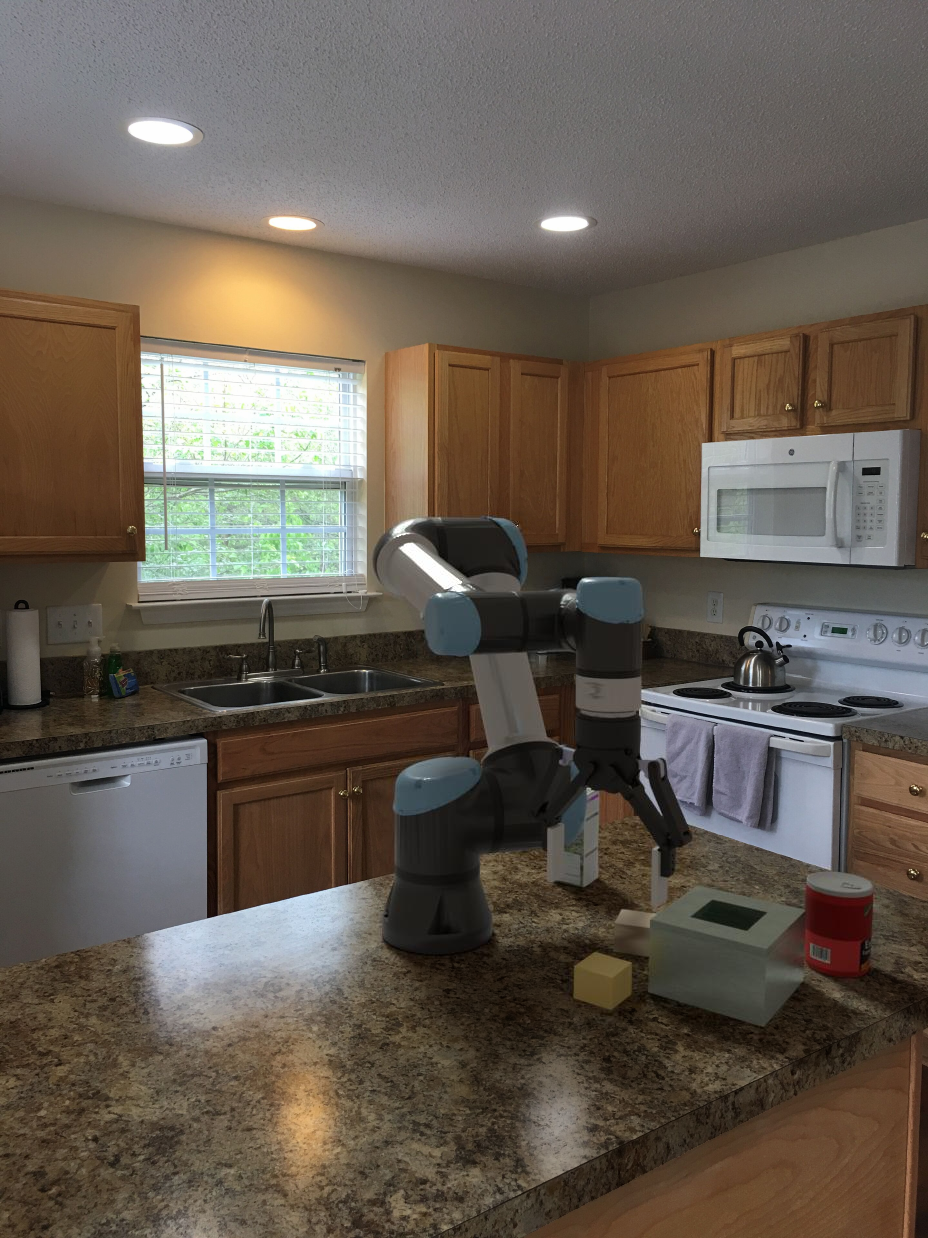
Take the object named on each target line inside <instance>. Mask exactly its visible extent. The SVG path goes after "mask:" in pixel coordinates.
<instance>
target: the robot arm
mask: <svg viewBox="0 0 928 1238" xmlns="http://www.w3.org/2000/svg"><path fill="white" fill-rule="evenodd" d="M372 554H373V555H372V568H373V572H374V574H375V576H376V579H377V580H378V581H379V582H380V584H381V585H382V586H383V587H384V588H385V589H386V590H387V591H388V592H390V593H392V594H394V595H396V596H400V597H404V598H405V599H406V600H407V601H408V602H410V603H411V605H412V606H413V607H415V608H416V610H418V611H419V613H421V614H422V615H423V616H424V618H423V619H424V620H423V621H424V623H423V625H424V636H425V639H426V640H427V646H428V648H429V649H430V651H431V652H432V653H434V654H435V655H438V656H439V655H440V656H445V655H446V656H456V657H466V656H469V660H470V665H471V666H470V667H471V670H472V675H473V680H474V685H475V689H476V690H475V691H476V694H477V699H478V700H477V701H478V704H479V709H480V713H481V718H482V722H483V727H484V728H483V729H484V733H485V737H486V743H487V747H488V750H487V752H486V753H485V755H484V756H483V757H482V759H481V762H479V761H478V760H476V759H475V758H473V757H466V756H456V757H452V756H443V757H437V758H430V759H427V760H424V761H420V762H417V763H414V764H411V765H409V766H408V767H406V768H405V769H404V770H402V771H401V772H400V773H399V774H398V776H397V778H396V780H395V787H394V799H393V803H392V810H393V812H394V813H393V814H394V815H393V816H394V821H393V822H394V825H393V827H394V878H393V881H392V884H391V887H390V891H389V893H388V897H387V899H386V902H385V907H384V910H383V912H382V915H381V917H382V918H381V935H382V937H383V939H384V940H385V942H387V943H388V944H389V945H391V946H393V947H394V948H398V949H400V950H402V951H406V952H410V953H415V954H422V955H450V954H452V955H453V954H457V953H458V954H459V953H463V952H467V951H472V950H474V949H476V948H479V947H481V946H482V945H484V944H485V943H487V942H488V941H489V940H490V939H491V938H492V935H493V928H494V927H493V925H494V924H493V922H494V920H493V914H492V911H491V909H490V907H489V904H488V899H487V895H486V892H485V889H484V886H483V882H482V879H481V856H482V855H490V854H491V855H492V854H498V853H499V854H501V853H510V852H521V851H530V850H540V849H541V850H542V851H543V852H546V854H547V855H546V857H547V858H546V865H547V866H546V882H550V883H554V882H556V880H558V879H559V878H561V877H563V876H564V845H567V844H569V843H571V842H573V841H574V840H575V839H576V838H577V837H578V835H579V834H580V832H581V829H582V827H583V824H584V820H585V815H586V809H587V788H591V790H594V791H599V792H600V791H603V792H606V793H607V794H611V795H616V794H619V793H620V796H621V797H622V798H623V799H624V800H625V801H627V802H628V803H629V805H630V807H632V809H633V812H635V814H636V816H637V817H638V818H639V820H640V821H641V823H642V824H643V826H644V827H645V829H646V830H647V831H648V833H649V835H650V836H651V837H652V839H653V840H654V841H655V843H656V844H657V846H655V847H654V848H652V849H651V879H650V880H651V883H650V884H651V885H650V886H651V887H650V889H651V890H650V891H651V892H650V894H651V895H650V906H651V907H654V908H658V907H660V906H661V905H662V904H664V903H665V902H667V901H668V889H669V888H668V886H669V885H668V882H669V878H670V877H672V876H673V875H674V874H675V873H676V853H677V848H679V849H680V848H683V847H685V846H686V845H688V844H689V843H691V842H692V841H693V835H692V832H691V830H690V827H689V825H688V823H687V820H686V818H685V815H684V813H683V810H682V807H681V806H680V803H679V801H678V799H677V797H676V794H675V791H674V789H673V786H672V784H671V782H670V780H669V778H668V777H669V776H668V767H667V760H666V759H665V758H663V757H658V758H655V759H642V757H641V753H640V749H641V741H642V740H641V738H642V737H641V734H642V733H641V732H642V717H641V715H640V714H639V713H638V711H640V710H641V708H642V667H643V666H642V665H643V664H642V663H643V637H644V636H643V634H644V633H643V632H644V631H643V630H644V616H645V610H644V605H643V587H642V584H641V582H640V581H639V580H637V579H635V578H632V577H617V576H616V577H613V576H610V577H609V576H595V577H594V576H593V577H583V578H581V580H579V582H578V584H577V586H576V589H574V588H569V587H568V588H553V589H549V590H527V591H526V590H523V591H521V588H522V586H523V585H524V583H525V582H526V579H527V575H528V571H529V570H528V567H529V564H528V561H527V558H528V552H527V546H526V543H525V540H524V537H523V535H522V533H521V531H520V530H519V528H518V527H517V525H516V524H515V523H513V522H512V521H511V520H508V519H506V518H503V517H501V518H499V517H491V516H487V515H486V516H480V517H447V516H446V517H445V516H444V517H442V516H441V517H439V516H436V517H435V516H434V517H433V516H418V517H412V518H409V519H405V520H403V521H400V522H398V523H396V524H394V525H393V526H391V527H389V528H388V529H387V530H386V531H385V532H384V533H383V534H382V535H381V537H380V538H379V539H378V540H377V542H376V544H375V547H374V548H373V553H372ZM547 652H548V653H549V652H553V653H554V652H572V653H574V654H575V663H576V664H575V707H576V708H577V709H578V710H579V711H578V712H576V714H575V717H574V719H575V722H574V741H575V744H576V746H575V749H574V748H571V747H570V745H569V744H567V743H563V744H561V745H560V744H559V742H557V741H555V740H553V739H551V738H550V737H548V736H547V733H546V732H547V731H546V726H545V724H544V719H543V716H542V715H543V714H542V711H541V707H540V703H539V698H538V695H537V694H538V693H537V691H536V686H535V682H534V679H533V678H534V677H533V674H532V669H531V665H530V662H529V657H528V653H547ZM480 763H481V764H480ZM641 772H643V774H644V778H646V779H647V780H648V782H649V786H650V789H651V791H652V794H653V796H654V798H655V801H656V804H657V806H658V808H659V809H658V808H657V807H656V805H655V803H654V802H653V801H652V799H651V798H650V797H649V795H648V794H647V792H646V787H645V786H644V784H643V782H642V781H641V779H640V778H639V777H638V776H639V774H640V773H641Z"/></svg>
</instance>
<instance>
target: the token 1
mask: <svg viewBox="0 0 928 1238" xmlns="http://www.w3.org/2000/svg"><path fill="white" fill-rule="evenodd" d="M573 968H574V969H573V999H576V1000H579V1001H582V1002H585V1003H587V1004H592V1005H593V1006H594V1005H595V1006H597V1007H600V1008H603V1009H607V1010H609V1011H613V1010H614V1008H616V1007H618V1005H619V1004H621V1003H622V1002H624V1001H625V1000H626V999H627V998H628V997H629V996H631V995H632V987H633V986H632V980H633V979H632V978H633V962H630V961H628V960H624V959H620V958H617V957H613V956H611V955H608V954H604V953H600V952H597V951H594V952H592V953H591V954H590V955H588V956H587V957H586V958H584V959H583V960H581V961H579V962H577V964H575V965H574V966H573Z"/></svg>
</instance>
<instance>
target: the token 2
mask: <svg viewBox="0 0 928 1238" xmlns="http://www.w3.org/2000/svg"><path fill="white" fill-rule="evenodd" d="M657 914H658V913H653V912H652V913H651V912H645V911H638V910H631V909H623V908H621V910H620V911H619V914H618V916H617V917H616V919H615V921H614V922H613V952H615V953H621V954H627V955H635V956H640V957H646V958H647V957H648V958H649V942H650V919H651V918H653V917H654V916H655V915H657Z"/></svg>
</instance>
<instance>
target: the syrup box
mask: <svg viewBox="0 0 928 1238" xmlns="http://www.w3.org/2000/svg"><path fill="white" fill-rule="evenodd" d="M599 823H600V791H594V790H591V788H590V787H587V809H586V815H585V820H584V824H583V827H582V829H581V832H580V834H579V835H578V837H577V838H576V839H575V840H574V841H573V842H571V843H569V844H567V845H564V876H563V877H561V878H559V879H558V880H556V881H555V882H556V883H561V884H565V885H571V886H575V887H579V888H585V887H586V886H588V885H590V884H591V883H593V882H594V881H596V880H597V879H598V878H599V828H600V827H599V826H600V825H599Z"/></svg>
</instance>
